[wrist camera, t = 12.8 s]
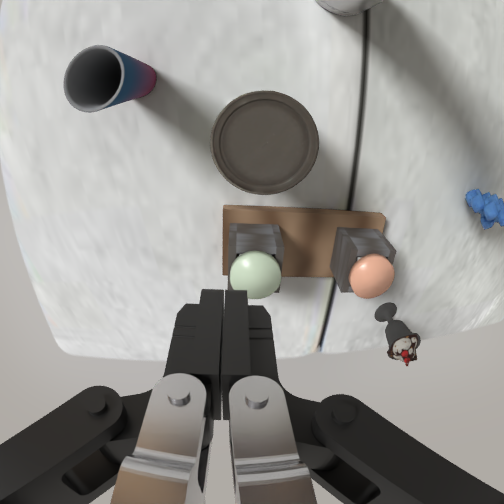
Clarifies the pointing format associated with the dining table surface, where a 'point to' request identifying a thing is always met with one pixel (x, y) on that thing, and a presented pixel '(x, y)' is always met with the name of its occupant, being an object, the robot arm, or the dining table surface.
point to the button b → (371, 275)
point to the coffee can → (264, 142)
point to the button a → (255, 274)
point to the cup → (105, 79)
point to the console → (304, 239)
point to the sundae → (398, 335)
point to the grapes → (486, 207)
